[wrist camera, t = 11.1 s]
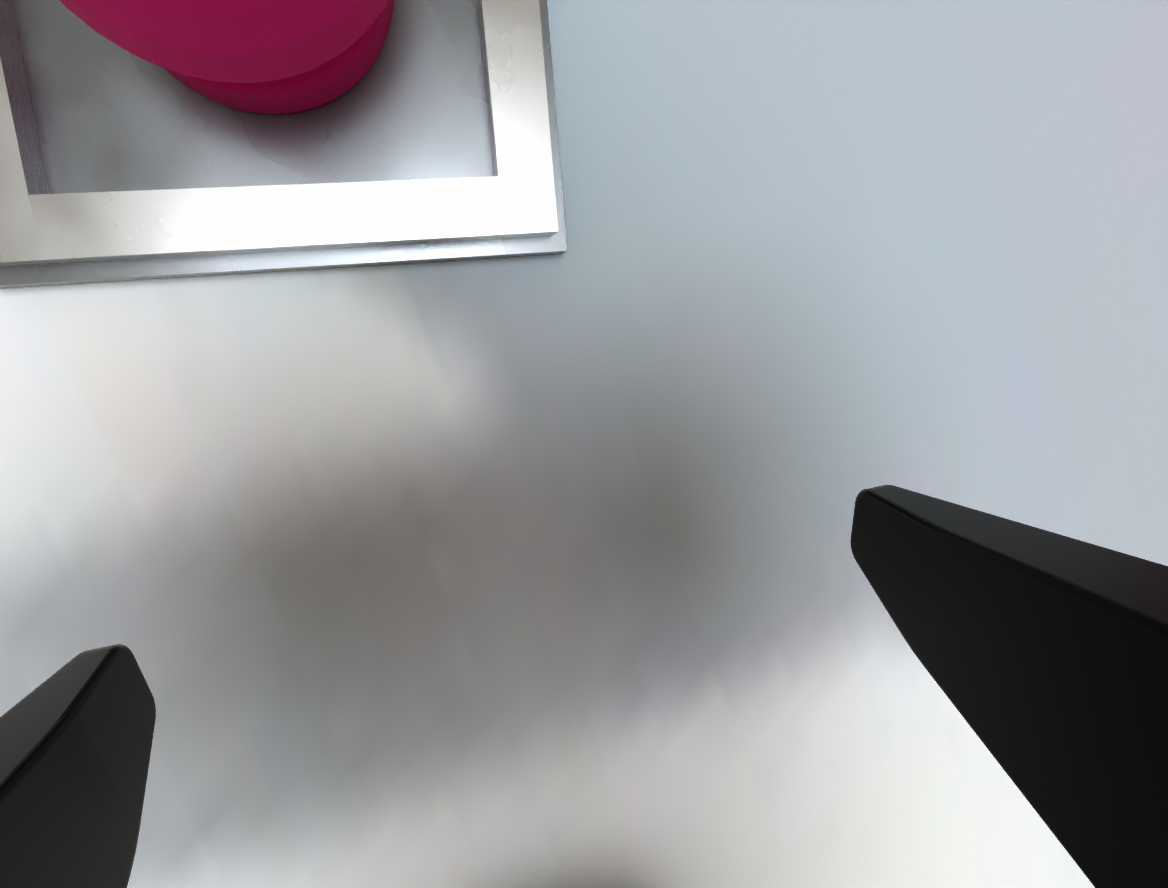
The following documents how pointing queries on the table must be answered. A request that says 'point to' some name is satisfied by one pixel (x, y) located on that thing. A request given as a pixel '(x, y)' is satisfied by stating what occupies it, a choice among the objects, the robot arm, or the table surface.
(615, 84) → the table surface
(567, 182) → the table surface
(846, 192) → the table surface
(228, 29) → the pepper mill
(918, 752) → the table surface
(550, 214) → the silver dock
